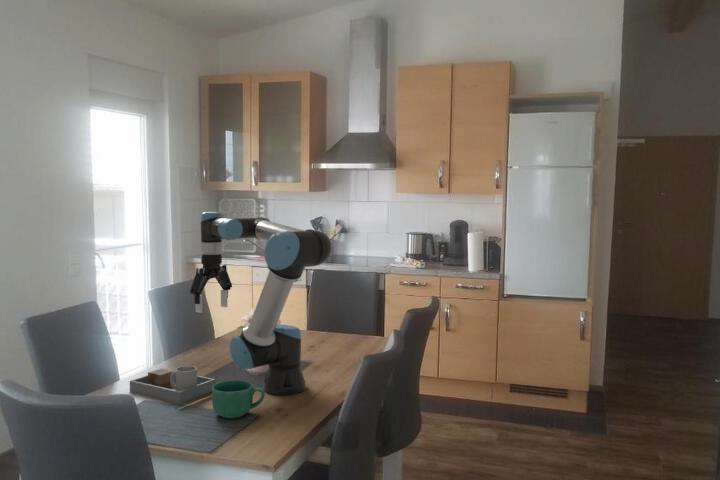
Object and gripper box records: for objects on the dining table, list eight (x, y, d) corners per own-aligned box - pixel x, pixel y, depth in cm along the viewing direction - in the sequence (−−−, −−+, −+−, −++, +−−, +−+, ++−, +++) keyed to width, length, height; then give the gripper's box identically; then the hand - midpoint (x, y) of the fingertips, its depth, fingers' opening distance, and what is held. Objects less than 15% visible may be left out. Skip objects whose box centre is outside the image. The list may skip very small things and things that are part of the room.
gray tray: (215, 391, 221) (215, 379, 221) (180, 405, 206) (179, 392, 206) (166, 380, 232) (166, 369, 232) (129, 393, 218) (129, 380, 217)
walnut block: (173, 387, 223) (172, 370, 223) (160, 391, 218) (160, 375, 218) (161, 384, 226) (160, 368, 226) (148, 388, 221) (147, 372, 220)
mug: (207, 421, 192) (207, 391, 192) (217, 407, 205) (217, 379, 204) (260, 422, 192) (260, 392, 191) (267, 408, 204) (267, 380, 204)
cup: (190, 398, 212) (190, 372, 211) (164, 395, 214) (164, 370, 214) (201, 391, 219) (200, 366, 218) (175, 389, 221) (175, 364, 221)
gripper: (226, 250, 244) (226, 303, 246) (179, 255, 223) (180, 313, 224) (241, 251, 241) (241, 305, 242) (195, 256, 219) (195, 316, 221)
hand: (211, 309), depth 233 cm, fingers open, 13 cm apart
